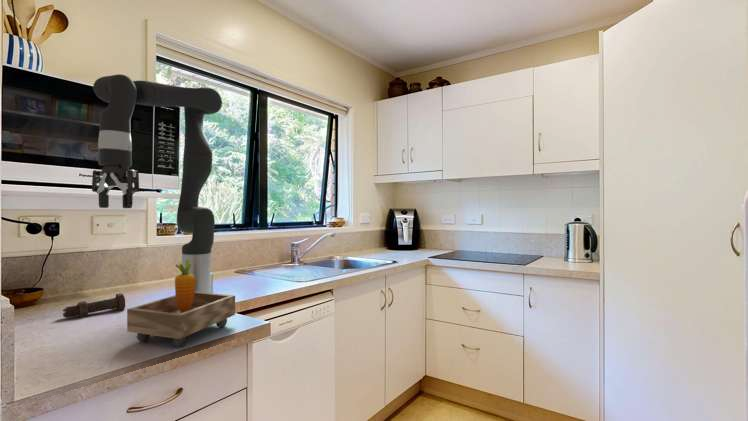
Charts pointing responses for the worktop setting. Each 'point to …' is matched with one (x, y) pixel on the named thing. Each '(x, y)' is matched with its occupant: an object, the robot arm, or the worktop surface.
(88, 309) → the bolt
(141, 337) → the caster cart
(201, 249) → the robot arm
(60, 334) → the worktop surface
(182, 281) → the carrot
